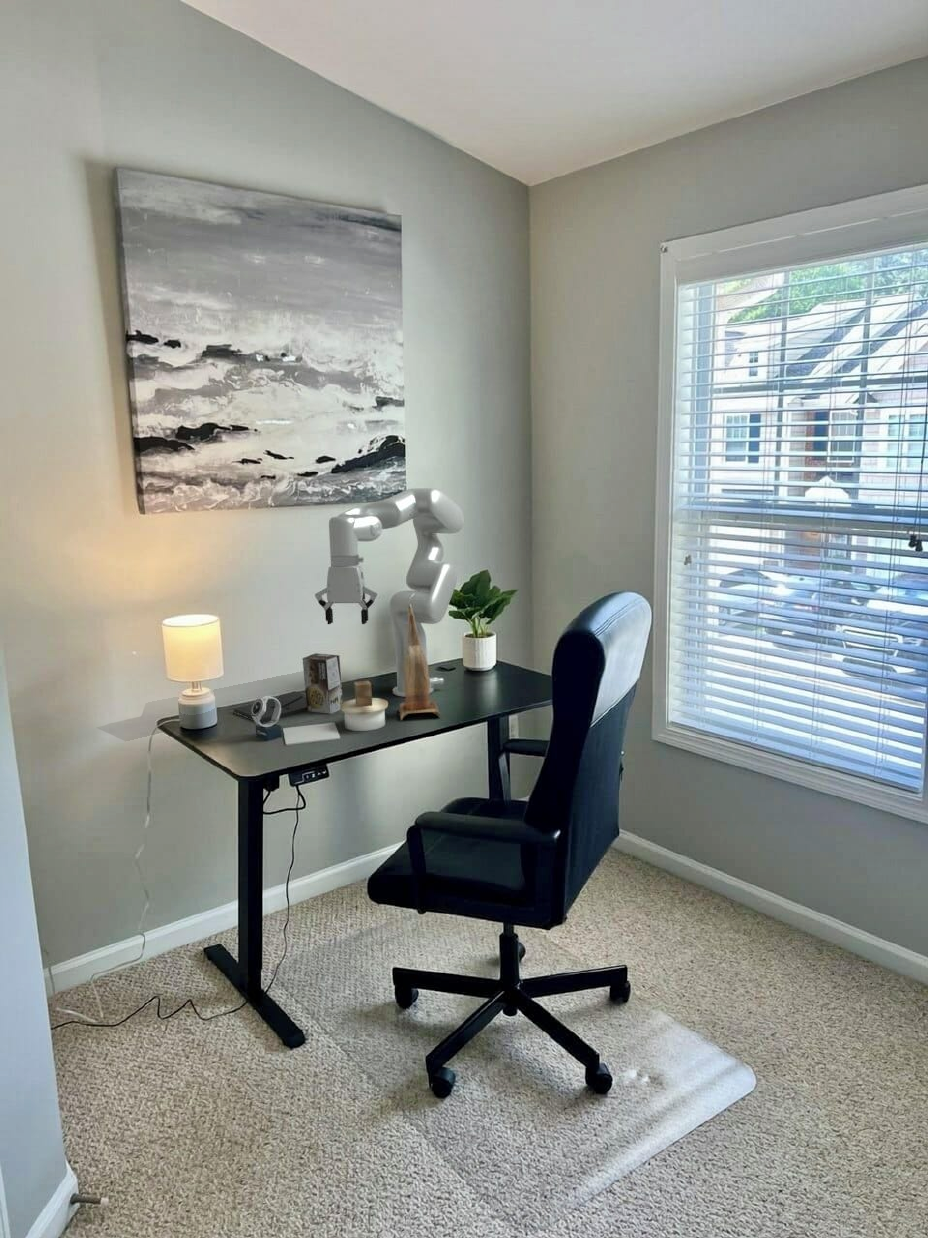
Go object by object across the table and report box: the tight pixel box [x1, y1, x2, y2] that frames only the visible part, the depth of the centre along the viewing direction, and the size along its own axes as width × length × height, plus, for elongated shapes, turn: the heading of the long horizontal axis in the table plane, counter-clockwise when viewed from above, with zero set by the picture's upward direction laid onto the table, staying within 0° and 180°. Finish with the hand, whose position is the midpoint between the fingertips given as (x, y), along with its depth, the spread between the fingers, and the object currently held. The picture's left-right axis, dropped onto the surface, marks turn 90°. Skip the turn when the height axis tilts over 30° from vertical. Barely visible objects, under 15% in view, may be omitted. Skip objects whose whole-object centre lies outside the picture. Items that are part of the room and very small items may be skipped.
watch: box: [251, 695, 283, 742], centre depth 237 cm, size 6×8×11 cm
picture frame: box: [233, 691, 309, 724], centre depth 262 cm, size 16×3×21 cm
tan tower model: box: [398, 604, 441, 721], centre depth 250 cm, size 11×12×32 cm
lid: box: [339, 680, 389, 714], centre depth 243 cm, size 13×13×7 cm
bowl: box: [343, 709, 386, 732], centre depth 244 cm, size 11×11×5 cm
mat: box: [282, 722, 341, 746], centre depth 238 cm, size 14×14×1 cm
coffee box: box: [302, 652, 344, 715], centre depth 259 cm, size 9×6×16 cm
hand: (347, 623), depth 247 cm, fingers open, 9 cm apart
